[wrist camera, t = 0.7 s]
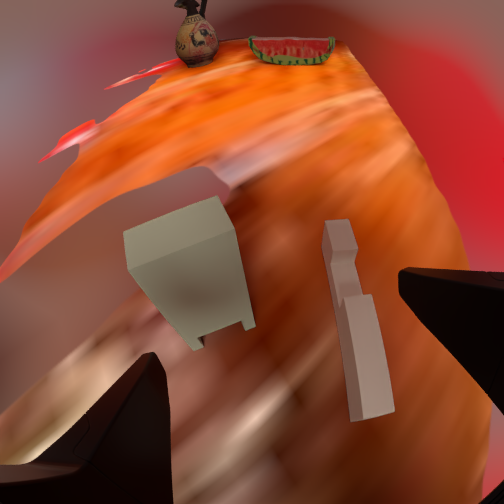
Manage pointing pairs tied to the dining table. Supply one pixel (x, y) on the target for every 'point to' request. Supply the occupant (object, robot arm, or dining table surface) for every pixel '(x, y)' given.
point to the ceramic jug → (195, 36)
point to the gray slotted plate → (191, 269)
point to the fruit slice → (292, 49)
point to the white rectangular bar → (356, 327)
